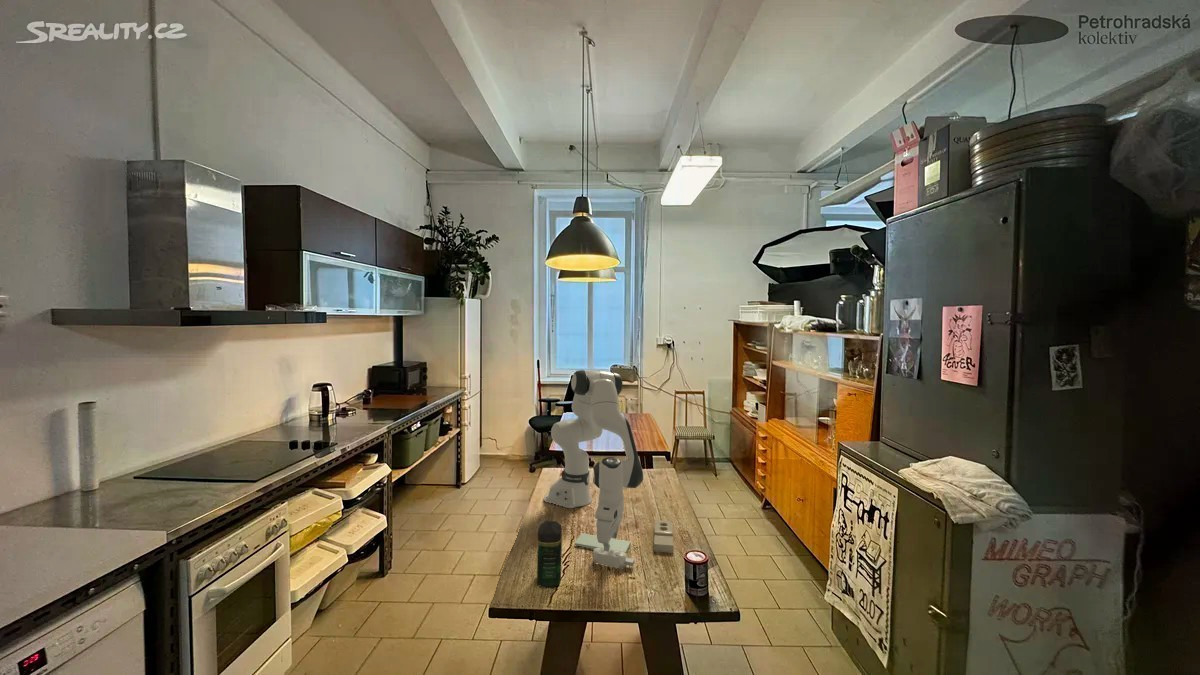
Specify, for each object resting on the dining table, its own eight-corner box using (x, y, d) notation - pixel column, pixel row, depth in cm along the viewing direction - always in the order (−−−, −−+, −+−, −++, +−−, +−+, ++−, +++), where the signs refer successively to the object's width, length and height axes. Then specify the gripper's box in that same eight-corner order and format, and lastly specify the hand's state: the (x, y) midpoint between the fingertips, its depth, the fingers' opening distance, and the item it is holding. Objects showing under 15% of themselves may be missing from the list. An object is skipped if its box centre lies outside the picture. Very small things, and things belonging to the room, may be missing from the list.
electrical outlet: (654, 541, 166) (654, 519, 184) (653, 552, 166) (654, 529, 184) (673, 543, 165) (672, 520, 183) (673, 553, 165) (672, 530, 183)
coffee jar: (560, 588, 142) (561, 532, 141) (535, 589, 142) (536, 532, 141) (562, 571, 152) (562, 518, 151) (538, 571, 152) (539, 518, 151)
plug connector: (591, 563, 157) (591, 552, 157) (595, 557, 161) (595, 546, 161) (632, 571, 153) (632, 559, 153) (634, 565, 157) (635, 554, 156)
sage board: (574, 545, 169) (574, 542, 169) (581, 536, 177) (581, 533, 176) (625, 555, 163) (625, 552, 163) (630, 544, 170) (630, 541, 170)
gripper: (610, 493, 167) (610, 529, 168) (593, 515, 148) (593, 556, 148) (627, 495, 165) (626, 531, 166) (611, 518, 146) (611, 559, 146)
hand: (610, 543), depth 157 cm, fingers open, 8 cm apart
